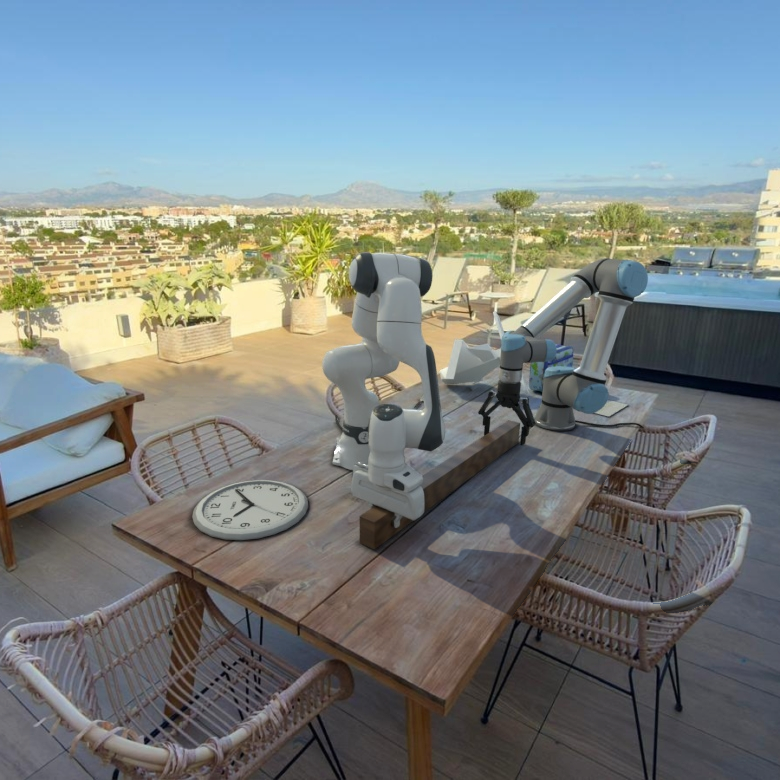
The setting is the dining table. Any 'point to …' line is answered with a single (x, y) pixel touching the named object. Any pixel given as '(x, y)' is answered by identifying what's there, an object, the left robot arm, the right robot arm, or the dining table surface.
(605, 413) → the invitation card
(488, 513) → the dining table surface
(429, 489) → the beam
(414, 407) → the fork
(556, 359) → the lunch box
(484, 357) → the white plastic object
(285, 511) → the wall clock
